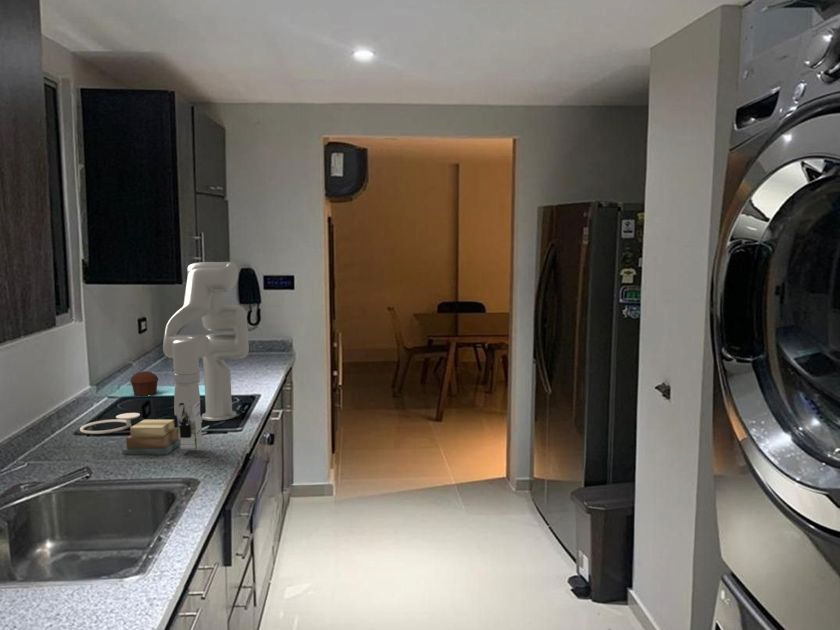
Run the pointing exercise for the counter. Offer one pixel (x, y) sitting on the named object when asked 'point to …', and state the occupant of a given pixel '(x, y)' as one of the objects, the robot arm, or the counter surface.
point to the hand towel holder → (124, 418)
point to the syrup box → (192, 430)
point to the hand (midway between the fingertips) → (190, 433)
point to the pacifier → (203, 428)
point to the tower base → (152, 437)
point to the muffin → (144, 383)
